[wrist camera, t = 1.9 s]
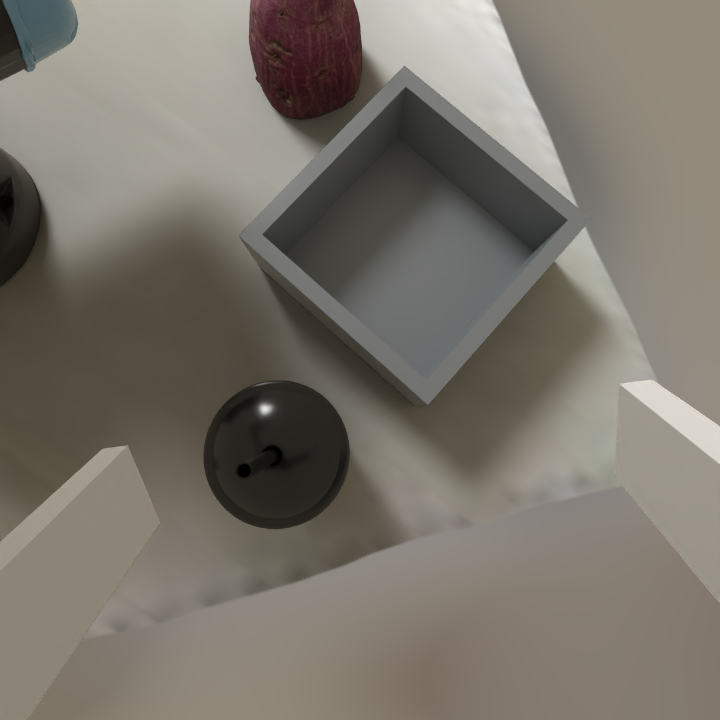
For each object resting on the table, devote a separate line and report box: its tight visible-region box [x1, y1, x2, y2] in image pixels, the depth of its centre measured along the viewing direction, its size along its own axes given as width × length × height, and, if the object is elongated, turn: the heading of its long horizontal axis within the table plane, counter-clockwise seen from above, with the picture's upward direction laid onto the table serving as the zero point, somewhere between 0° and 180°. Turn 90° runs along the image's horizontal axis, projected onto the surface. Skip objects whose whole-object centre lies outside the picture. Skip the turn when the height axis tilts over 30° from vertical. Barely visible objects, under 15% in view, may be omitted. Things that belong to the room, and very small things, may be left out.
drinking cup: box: [204, 381, 350, 529], centre depth 26 cm, size 8×8×20 cm
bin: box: [238, 66, 591, 406], centre depth 34 cm, size 18×18×7 cm
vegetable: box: [249, 0, 362, 119], centre depth 34 cm, size 10×10×15 cm
